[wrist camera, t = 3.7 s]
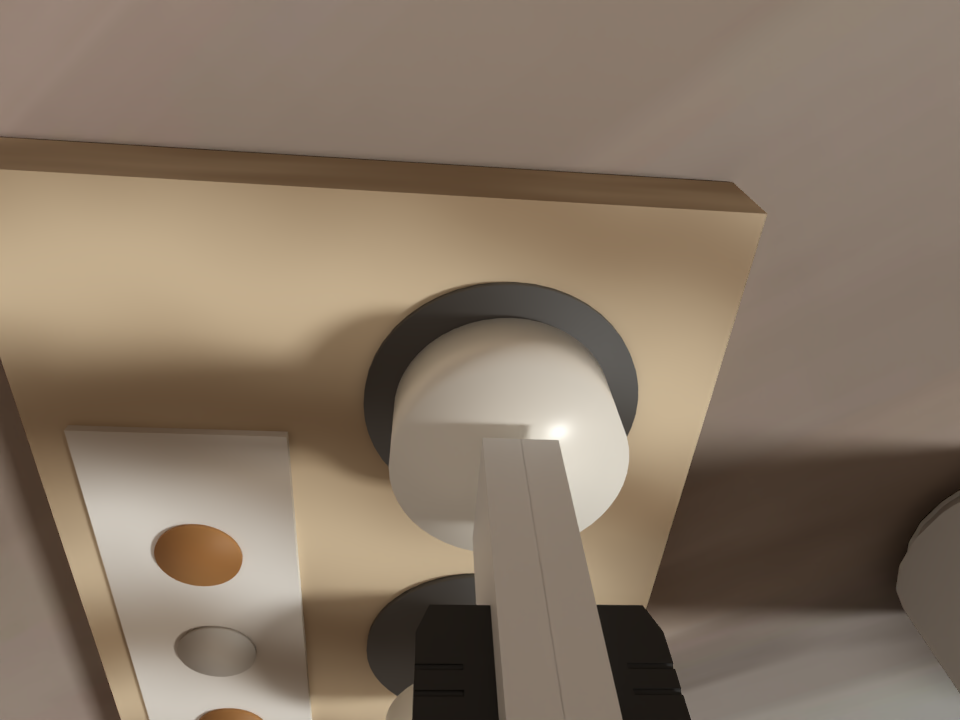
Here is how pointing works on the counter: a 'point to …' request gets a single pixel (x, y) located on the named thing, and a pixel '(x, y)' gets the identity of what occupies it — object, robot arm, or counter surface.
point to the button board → (321, 391)
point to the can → (935, 584)
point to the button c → (501, 420)
